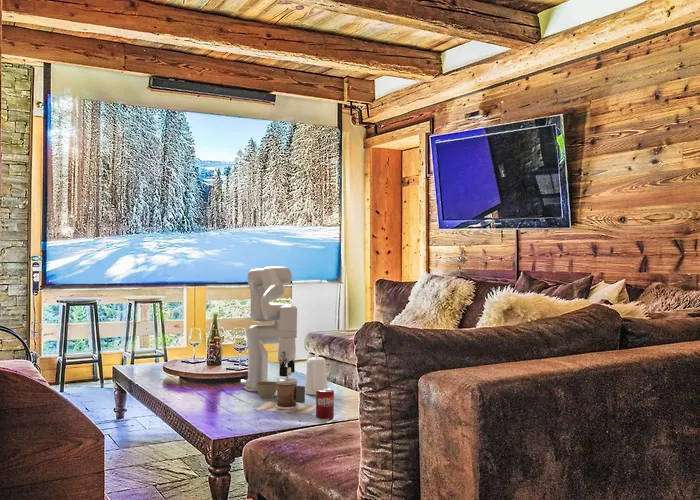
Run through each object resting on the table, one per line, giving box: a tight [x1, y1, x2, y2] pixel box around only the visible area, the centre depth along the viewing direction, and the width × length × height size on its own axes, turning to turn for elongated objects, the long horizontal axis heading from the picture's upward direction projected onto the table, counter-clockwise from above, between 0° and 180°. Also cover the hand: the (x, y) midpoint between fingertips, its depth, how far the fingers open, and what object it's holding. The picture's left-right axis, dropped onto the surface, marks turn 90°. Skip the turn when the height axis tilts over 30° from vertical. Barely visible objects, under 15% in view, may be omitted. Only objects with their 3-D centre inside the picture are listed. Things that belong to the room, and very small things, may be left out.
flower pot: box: [256, 380, 277, 399], centre depth 305 cm, size 10×10×7 cm
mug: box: [275, 381, 306, 410], centre depth 283 cm, size 13×10×11 cm
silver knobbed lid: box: [276, 366, 298, 384], centre depth 284 cm, size 9×9×6 cm
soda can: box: [315, 387, 335, 422], centre depth 269 cm, size 7×7×12 cm
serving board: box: [253, 400, 316, 415], centre depth 284 cm, size 24×16×1 cm, turn 76°
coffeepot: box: [304, 353, 328, 396], centre depth 318 cm, size 11×25×19 cm, turn 168°
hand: (287, 374), depth 284 cm, fingers open, 9 cm apart
